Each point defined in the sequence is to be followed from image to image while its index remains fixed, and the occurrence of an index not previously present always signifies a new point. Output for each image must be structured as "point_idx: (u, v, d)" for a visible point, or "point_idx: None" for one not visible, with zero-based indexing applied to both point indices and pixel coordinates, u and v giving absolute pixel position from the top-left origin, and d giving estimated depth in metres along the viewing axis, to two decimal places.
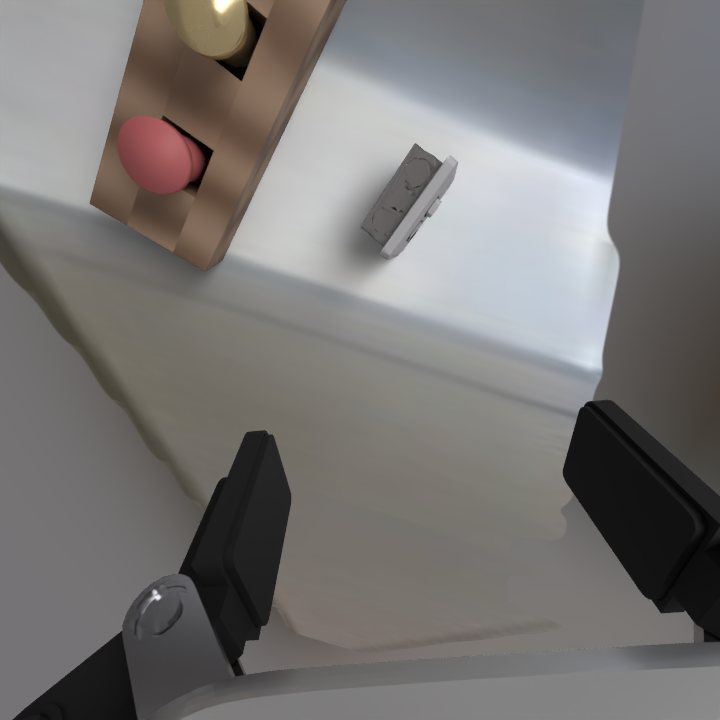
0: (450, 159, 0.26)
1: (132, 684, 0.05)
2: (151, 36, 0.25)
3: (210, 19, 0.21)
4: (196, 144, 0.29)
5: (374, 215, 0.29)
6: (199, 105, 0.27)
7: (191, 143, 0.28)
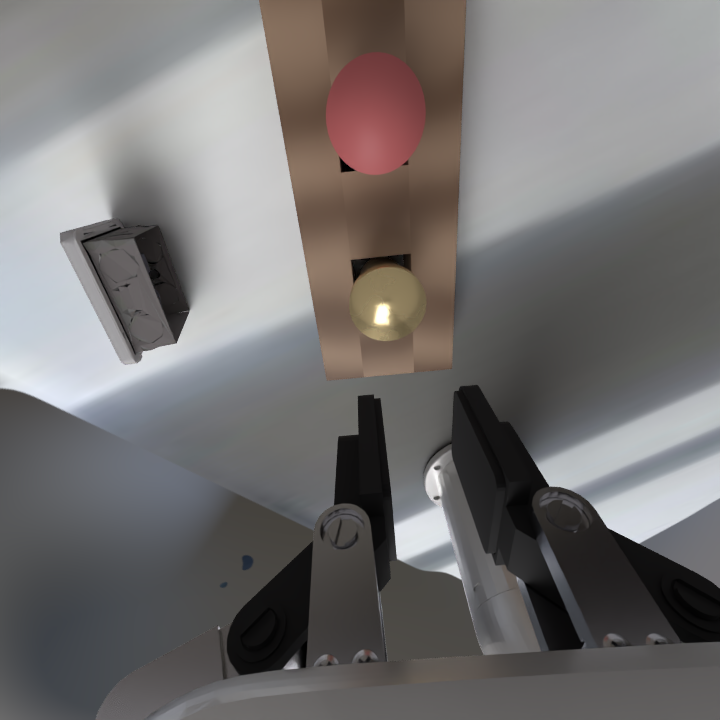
0: (131, 362, 0.24)
1: (312, 573, 0.06)
2: (442, 230, 0.24)
3: (377, 300, 0.22)
4: None
5: (134, 261, 0.22)
6: (376, 207, 0.23)
7: None
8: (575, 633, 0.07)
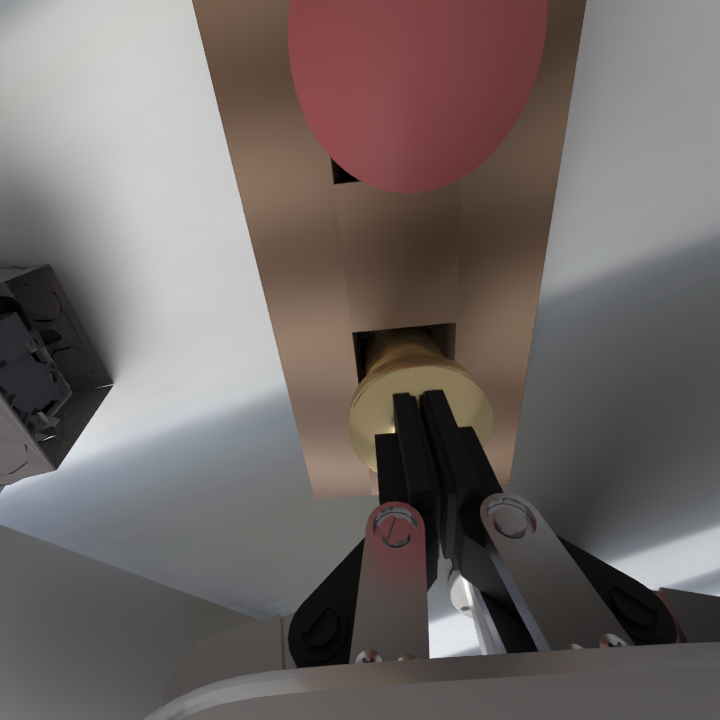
0: None
1: (362, 566, 0.06)
2: (514, 285, 0.13)
3: None
4: None
5: None
6: (399, 246, 0.13)
7: None
8: None
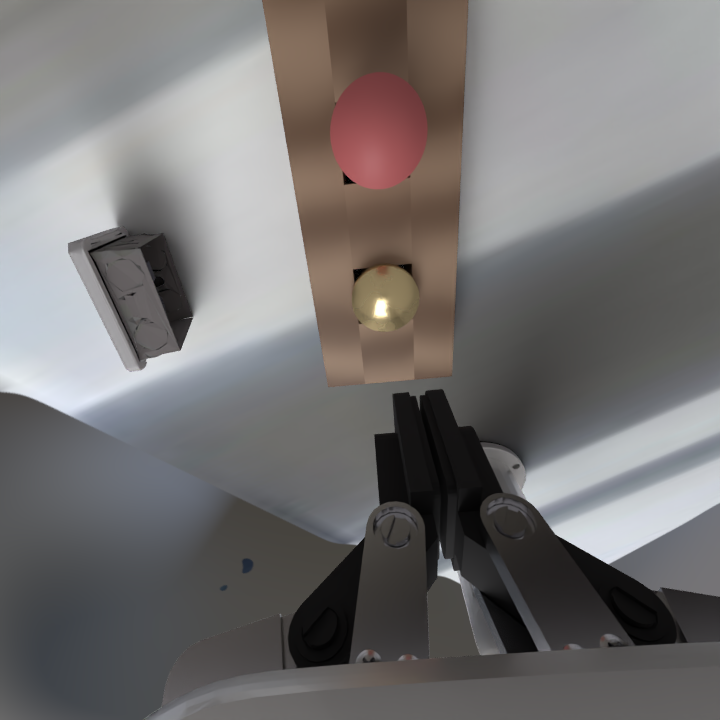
0: (136, 369, 0.25)
1: (362, 566, 0.06)
2: (443, 241, 0.24)
3: (376, 295, 0.25)
4: None
5: (139, 270, 0.22)
6: (378, 218, 0.23)
7: None
8: None
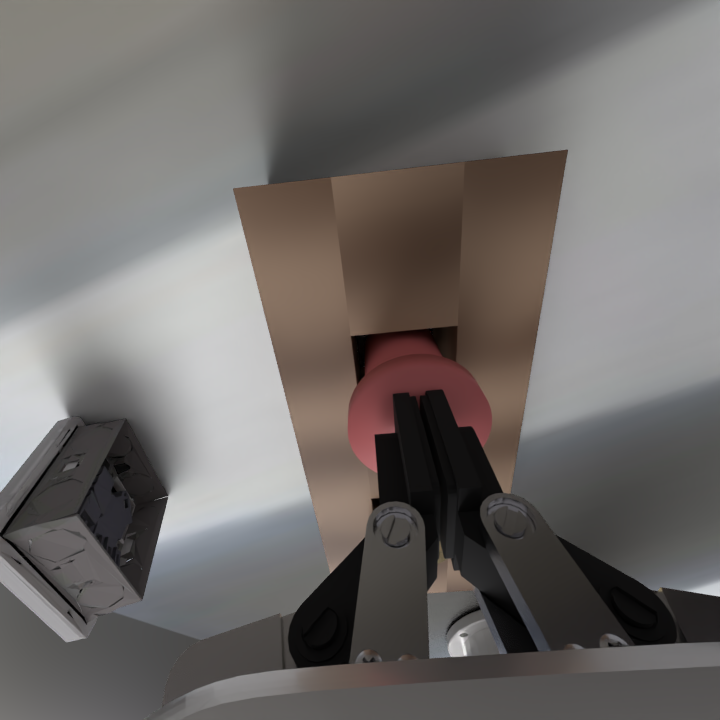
0: (81, 637, 0.18)
1: (362, 566, 0.06)
2: (494, 471, 0.18)
3: None
4: None
5: (78, 537, 0.16)
6: None
7: None
8: None
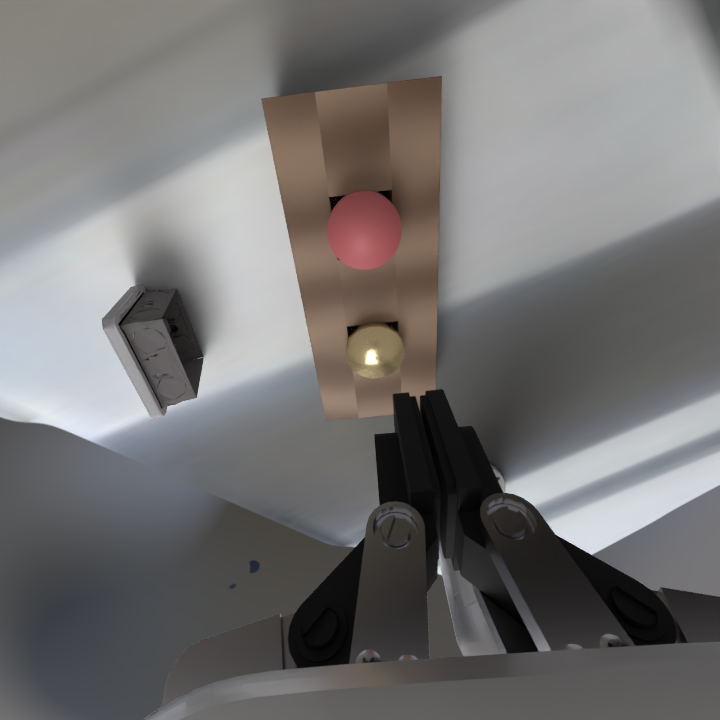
0: (159, 416, 0.28)
1: (362, 566, 0.06)
2: (424, 303, 0.28)
3: (367, 349, 0.28)
4: None
5: (162, 336, 0.26)
6: (368, 286, 0.27)
7: None
8: None
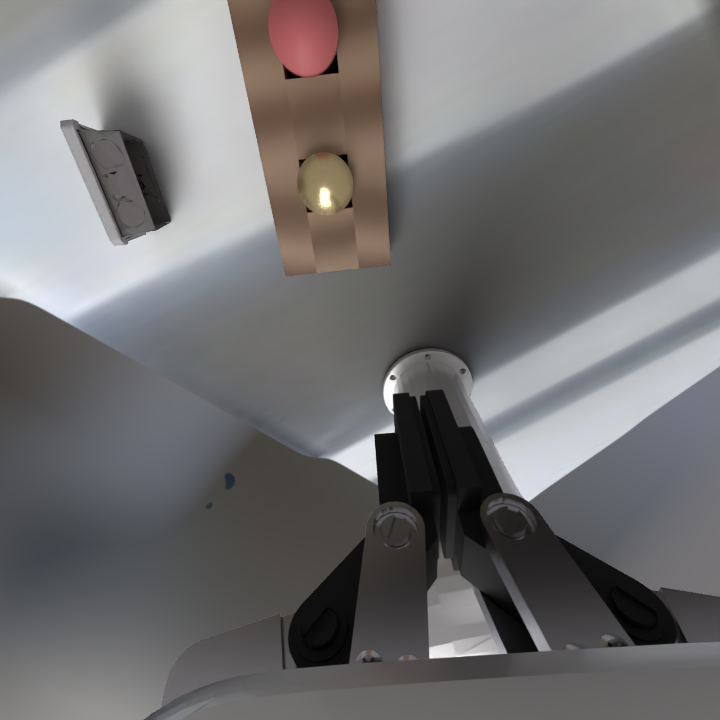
0: (118, 242, 0.30)
1: (362, 566, 0.06)
2: (371, 132, 0.29)
3: (317, 179, 0.30)
4: None
5: (119, 151, 0.27)
6: (316, 111, 0.28)
7: None
8: None
